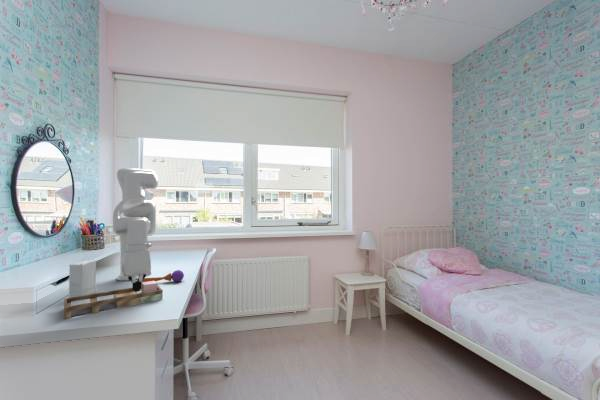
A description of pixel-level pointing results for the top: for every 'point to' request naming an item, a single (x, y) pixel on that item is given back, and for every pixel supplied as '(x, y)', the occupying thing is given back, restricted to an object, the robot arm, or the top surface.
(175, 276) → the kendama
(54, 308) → the top surface
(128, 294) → the box
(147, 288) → the rose block
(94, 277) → the skincare box
